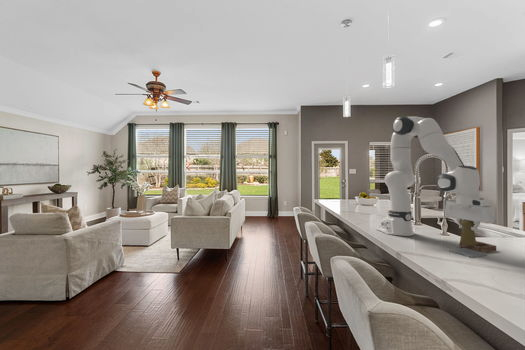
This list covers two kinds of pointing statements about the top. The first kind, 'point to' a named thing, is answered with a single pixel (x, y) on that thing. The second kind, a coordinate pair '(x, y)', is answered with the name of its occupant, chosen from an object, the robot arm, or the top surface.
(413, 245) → the top surface
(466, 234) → the olive green figurine
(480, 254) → the rubber mat
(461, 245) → the walnut cradle
